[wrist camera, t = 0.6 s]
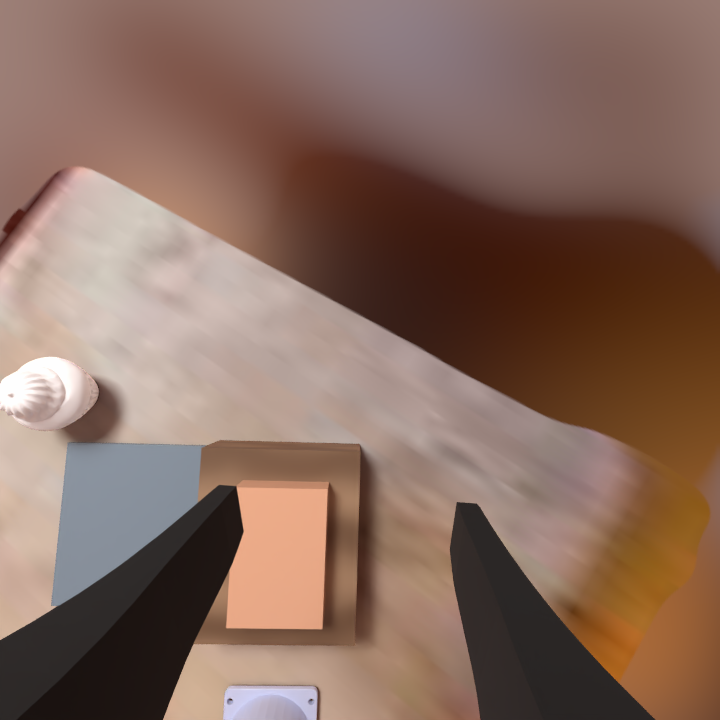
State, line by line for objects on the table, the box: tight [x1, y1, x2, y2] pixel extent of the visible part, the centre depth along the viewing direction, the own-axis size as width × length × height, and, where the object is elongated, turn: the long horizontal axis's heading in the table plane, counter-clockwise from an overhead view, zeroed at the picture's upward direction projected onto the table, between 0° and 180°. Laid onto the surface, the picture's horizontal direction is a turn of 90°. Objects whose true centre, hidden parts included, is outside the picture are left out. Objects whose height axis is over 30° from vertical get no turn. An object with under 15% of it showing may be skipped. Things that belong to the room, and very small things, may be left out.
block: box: [226, 480, 329, 629], centre depth 26 cm, size 10×7×2 cm
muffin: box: [0, 357, 99, 431], centre depth 28 cm, size 6×6×7 cm
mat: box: [51, 442, 206, 606], centre depth 31 cm, size 14×13×1 cm
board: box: [194, 440, 361, 646], centre depth 29 cm, size 15×13×4 cm
